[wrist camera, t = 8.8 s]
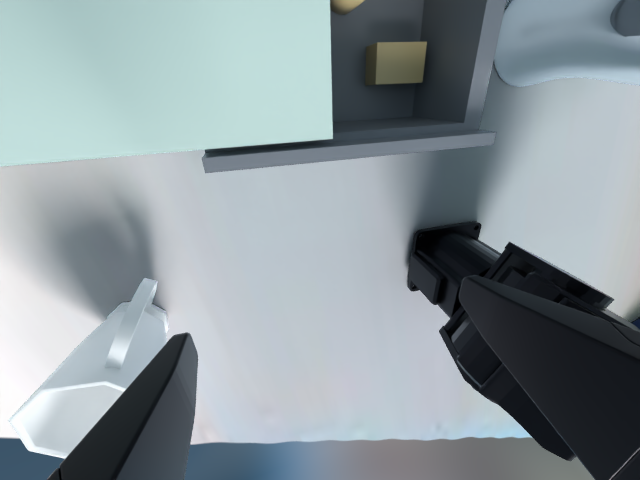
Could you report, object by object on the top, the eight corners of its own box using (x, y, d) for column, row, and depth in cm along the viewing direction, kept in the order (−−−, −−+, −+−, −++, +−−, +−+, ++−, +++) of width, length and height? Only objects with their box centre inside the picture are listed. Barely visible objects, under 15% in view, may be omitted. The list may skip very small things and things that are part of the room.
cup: (78, 346, 22) (0, 463, 15) (105, 240, 19) (23, 325, 12) (173, 359, 25) (145, 463, 18) (211, 268, 21) (195, 352, 15)
